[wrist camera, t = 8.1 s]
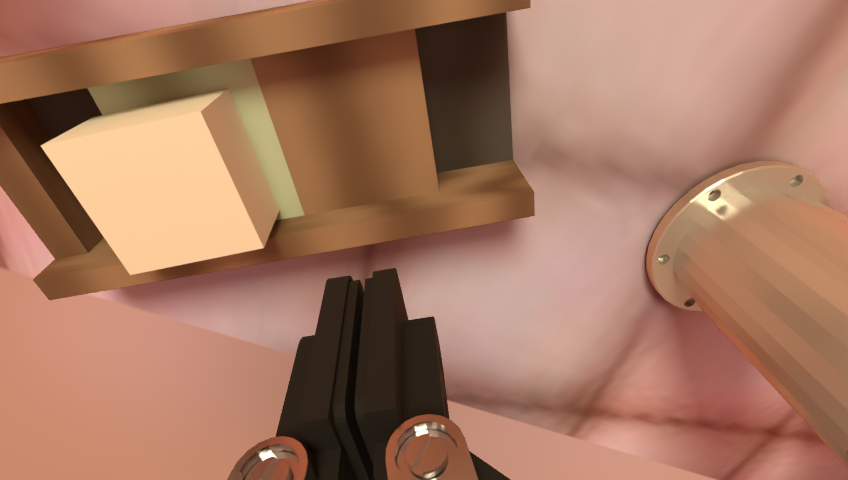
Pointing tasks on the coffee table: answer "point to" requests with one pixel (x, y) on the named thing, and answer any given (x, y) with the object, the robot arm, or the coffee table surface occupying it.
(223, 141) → the cream block
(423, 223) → the box
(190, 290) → the coffee table surface
